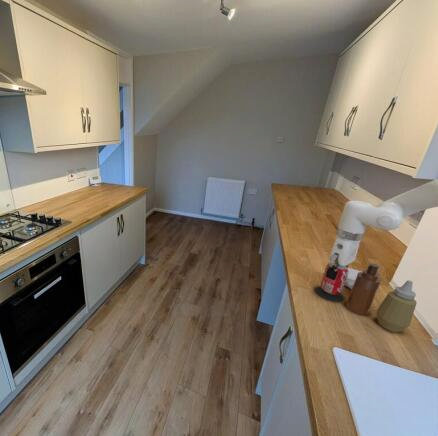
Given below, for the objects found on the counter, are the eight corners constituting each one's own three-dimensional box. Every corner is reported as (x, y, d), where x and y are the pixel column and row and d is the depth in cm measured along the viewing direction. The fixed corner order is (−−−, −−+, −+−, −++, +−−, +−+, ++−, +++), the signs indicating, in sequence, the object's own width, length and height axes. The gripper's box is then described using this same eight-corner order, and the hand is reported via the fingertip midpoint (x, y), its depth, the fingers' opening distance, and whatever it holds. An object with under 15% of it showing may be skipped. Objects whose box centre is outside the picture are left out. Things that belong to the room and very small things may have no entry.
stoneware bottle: (371, 311, 87) (390, 267, 81) (363, 317, 84) (382, 272, 78) (350, 300, 92) (366, 258, 86) (342, 306, 90) (358, 263, 83)
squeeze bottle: (395, 319, 83) (416, 276, 77) (412, 337, 76) (437, 291, 70) (367, 315, 85) (386, 272, 79) (381, 332, 78) (403, 286, 72)
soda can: (339, 288, 97) (348, 263, 92) (342, 298, 91) (352, 271, 87) (318, 283, 100) (326, 258, 96) (320, 292, 94) (328, 266, 90)
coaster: (346, 297, 95) (347, 296, 94) (335, 304, 90) (335, 303, 90) (322, 285, 102) (322, 284, 102) (310, 291, 98) (311, 290, 98)
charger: (340, 291, 98) (342, 275, 109) (369, 301, 92) (368, 283, 103) (343, 281, 96) (345, 266, 107) (373, 291, 91) (372, 274, 102)
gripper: (349, 243, 80) (334, 287, 86) (372, 233, 88) (357, 274, 94) (325, 235, 86) (312, 276, 92) (348, 226, 94) (335, 265, 100)
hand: (335, 275), depth 93 cm, fingers closed on soda can, 7 cm apart
